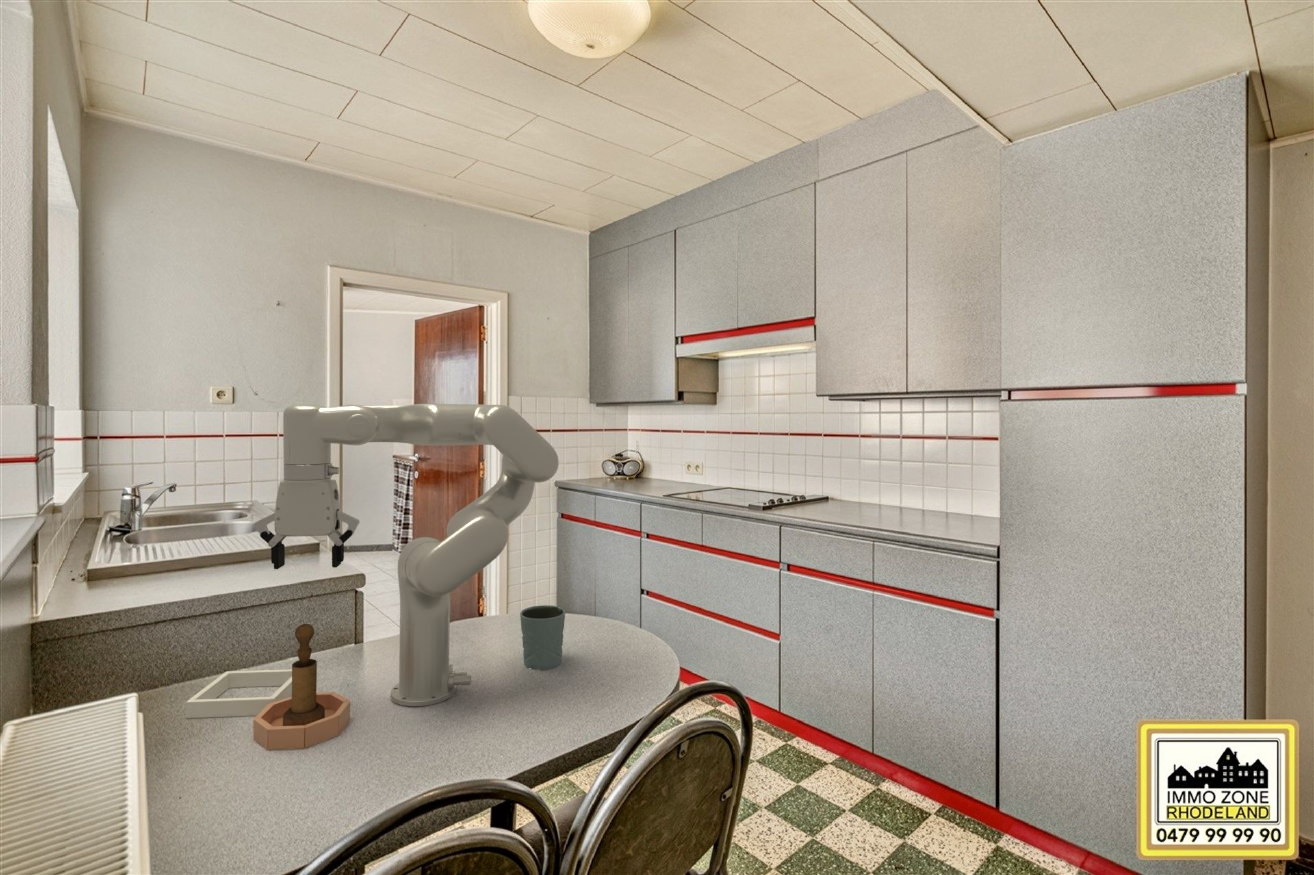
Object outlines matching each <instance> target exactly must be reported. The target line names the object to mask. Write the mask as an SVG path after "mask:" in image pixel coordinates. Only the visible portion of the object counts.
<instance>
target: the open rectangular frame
mask: <svg viewBox="0 0 1314 875" xmlns="http://www.w3.org/2000/svg"><path fill="white" fill-rule="evenodd" d="M259 687H263V688H265V687H279V688H278V689H277V690H276V691H275V692H274V693H273V694H272V695H271V696H260V697H259V696H258V697H252V696H251V697H234V698H233V697H229V698H228V697H227V698H218V697H220V696H221V695H222V694H223V693H224V692H226V691H227V690H228V689H230V688H231V689H232V688H233V689H234V688H236V689H237V688H259ZM289 697H292V668H289V669H267V670H266V669H265V670H264V669H263V670H258V669H257V670H231V671H229V670H227V671H225V672H223V673H222V674H221V675H219V676H218V677H217V678H216V679H214V680H213V681H212V682H210V683H209V684H207V685H206V686H205V687H203V689H201V690H200V691H198V692H197V693H196V694H195V695H193V696H192V697H190V698H189V699H188V700H187V701H185V719H204V718H207V719H208V718H223V717H224V718H225V717H227V718H228V717H229V718H230V717H248V716H249V717H253V716H254V717H256V716H257V715H258V714H259V713H260V712H261V711H262V710H263V709H264V708H265V707H266V706H267V705H268V704H270V703H273V702H276V701H279V700H282V699H285V698H289Z"/></svg>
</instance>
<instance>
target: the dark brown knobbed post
mask: <svg viewBox="0 0 1314 875" xmlns="http://www.w3.org/2000/svg"><path fill="white" fill-rule="evenodd" d="M314 634H315V629H314V627H313V625H311V624H309V623H302V624H300V625H299V626H297V627H296V628H295V631H294V637H295V639H296V640H297V641H298V643H299V648H298V649H297V651H296V653H297V658H298V660H297V661H295V662H293V663H292V664H291V669H292V696H291V697H292V705H291V707H290V708H289V709H288V710H287V711H286V712H285V713H284V715H283V726H300V725H307V724H310V723H312V722H315V721H318V720H321V719H323V718H325V708H324V706H322V705H321V704H319V703H317V702H316V693H317V686H318V685H317V679H318V678H317V675H318V673H317V670H318V668H317V667H318V663H317V662H318V661H317V660H316V659H314V658H311V655H312V651H313V648H311V647H310V642H311V640H313V637H314Z"/></svg>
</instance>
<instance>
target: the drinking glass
mask: <svg viewBox="0 0 1314 875" xmlns="http://www.w3.org/2000/svg"><path fill="white" fill-rule="evenodd" d="M519 615H520V616H519V617H520V626H521V628H520V631H521V634H522V636H521V638H522V640H521V641H522V648H523V651H522V652H523V654H522V656H523V664H524V666H525V667H526V668H528V669H529V668H531V669H530V670H533V669H534V670H535V671H547V670H546V669H548V670H552V669H551V668H553V669H555V668H557V666H558V667H559V666H560V665H561V664H562V658H563V657H562V656H563V644H564V629H565V621H566V620H565V618H566V610H565V609H564V608H562V607H560V606H557V605H547V604H544V605H534V606H529V607H526V608H524V609H522V610H521V611H520V613H519Z"/></svg>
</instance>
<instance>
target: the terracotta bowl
mask: <svg viewBox="0 0 1314 875" xmlns="http://www.w3.org/2000/svg"><path fill="white" fill-rule="evenodd" d="M316 702H317V703H319V704H321V705H322V706H324V708H325V718H323V719H321V720H318V721H315V722H312V723H310V724H307V725H300V726H283V715H284V713H285V712H286V711H287V710H288V709H289V708H290V707H291V705H292V696H291V697H289V698H285V699H282V700H279V701H276V702H273V703H270V704H268V705H267V706H266V707H265V708H264V709H263V710H262V711H261V712H260V713H259V714H258V715H257V716H254V718H253V731H252V732H253V736H252V737H253V740H254V741H255V742H256V743H257V744H259V745H261V746H262V747H263V748H264V749H266V750H267V751H278V750H299V749H300V750H301V749H302V750H303V749H307V748H309V747H312V746H315V745H317V744H319V743H322V742H326V741H327V740H330V739H333V738H336V737H338V736H340V734H341V733H342V732H343V731H344V729H345V728H346V726H347V725H348V723H349V722H350V720H351V700H350V699H348V698H346V697H345V696H343V695H341V694H339V693H338V692H336V691H328V692H327V691H325V692H322V691H321V692H316Z"/></svg>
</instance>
